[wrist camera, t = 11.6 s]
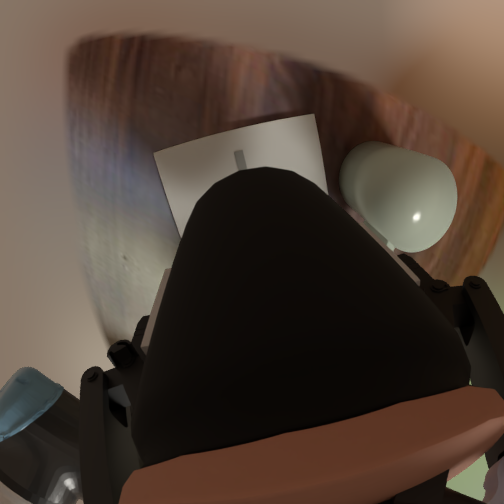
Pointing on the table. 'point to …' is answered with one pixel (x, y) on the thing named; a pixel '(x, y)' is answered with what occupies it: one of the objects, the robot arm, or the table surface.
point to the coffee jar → (297, 361)
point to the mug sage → (399, 194)
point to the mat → (238, 159)
